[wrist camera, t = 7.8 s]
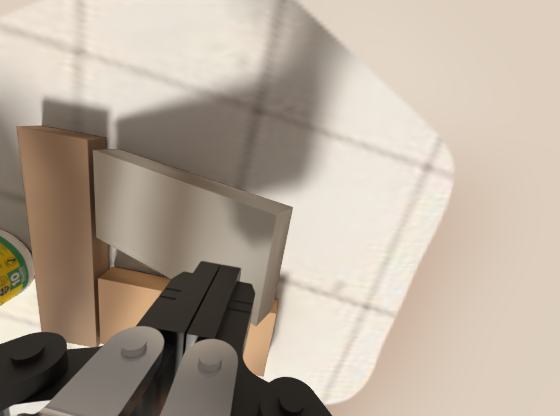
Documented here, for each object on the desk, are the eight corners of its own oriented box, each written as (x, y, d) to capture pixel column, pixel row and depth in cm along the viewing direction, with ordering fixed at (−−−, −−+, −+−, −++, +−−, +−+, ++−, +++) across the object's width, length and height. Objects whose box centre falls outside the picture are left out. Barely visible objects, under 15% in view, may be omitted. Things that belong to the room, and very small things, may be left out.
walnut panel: (59, 322, 22) (42, 337, 20) (41, 125, 17) (16, 126, 16) (110, 331, 22) (96, 347, 20) (105, 137, 17) (87, 139, 16)
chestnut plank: (113, 328, 22) (100, 343, 20) (112, 266, 20) (97, 278, 19) (266, 359, 22) (263, 376, 20) (278, 299, 20) (276, 313, 18)
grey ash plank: (119, 230, 19) (96, 237, 18) (118, 148, 17) (92, 149, 16) (272, 309, 14) (256, 326, 13) (292, 207, 12) (276, 215, 11)
